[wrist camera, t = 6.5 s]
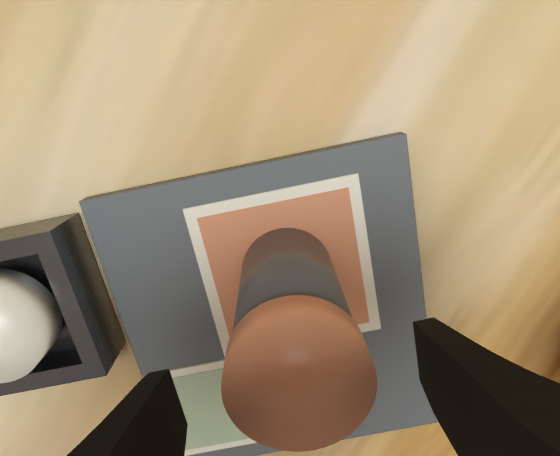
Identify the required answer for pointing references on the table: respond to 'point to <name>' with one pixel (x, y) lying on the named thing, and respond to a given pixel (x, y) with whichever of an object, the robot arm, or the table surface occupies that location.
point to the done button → (25, 324)
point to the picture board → (228, 266)
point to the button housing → (65, 300)
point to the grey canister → (295, 349)
